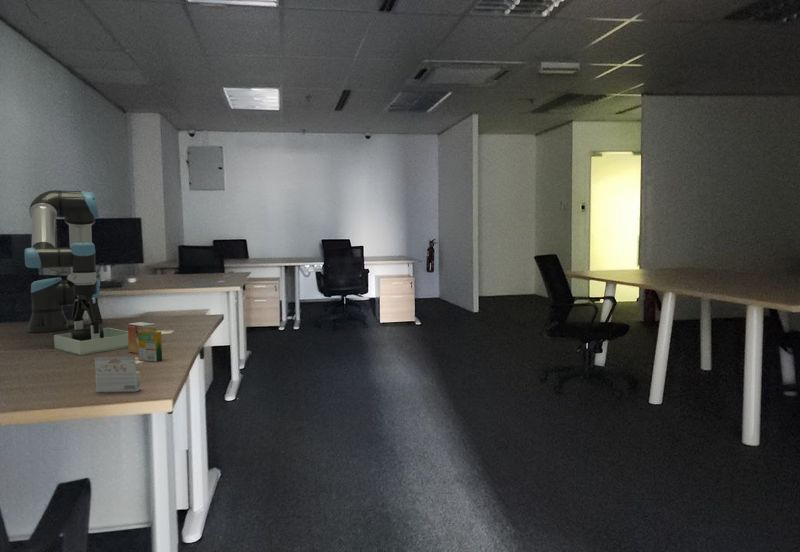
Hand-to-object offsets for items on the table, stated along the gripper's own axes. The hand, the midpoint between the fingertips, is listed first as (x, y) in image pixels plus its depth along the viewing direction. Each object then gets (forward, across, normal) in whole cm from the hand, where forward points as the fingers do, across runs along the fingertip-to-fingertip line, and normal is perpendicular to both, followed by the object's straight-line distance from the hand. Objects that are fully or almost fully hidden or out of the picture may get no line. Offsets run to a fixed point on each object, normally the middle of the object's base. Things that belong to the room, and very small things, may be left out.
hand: (87, 340), depth 196 cm
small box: (+3, +23, +9) cm, 25 cm away
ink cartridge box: (+3, +66, -20) cm, 69 cm away
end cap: (+3, 0, 0) cm, 3 cm away
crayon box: (+3, +38, +4) cm, 38 cm away
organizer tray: (+3, 0, +3) cm, 4 cm away
